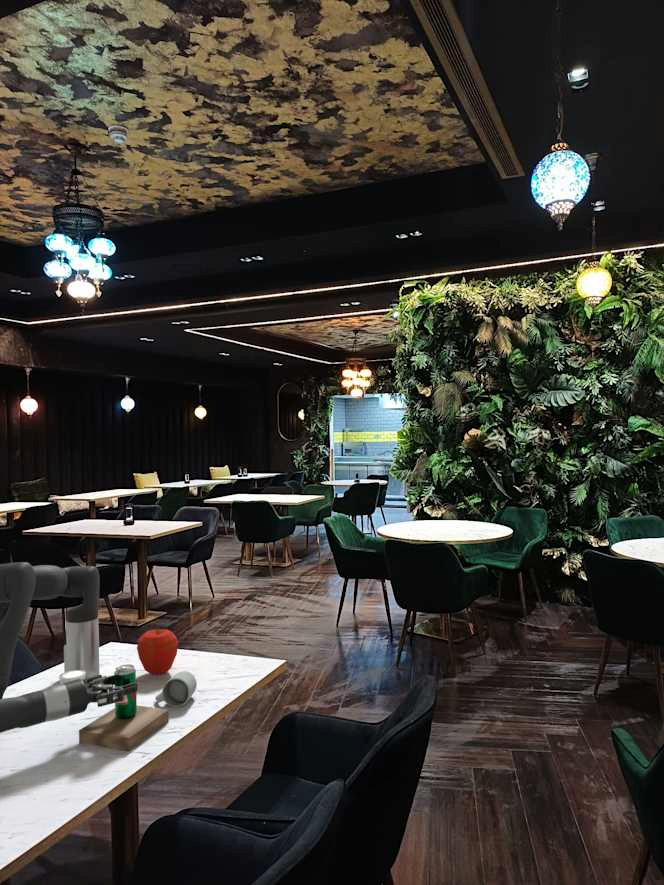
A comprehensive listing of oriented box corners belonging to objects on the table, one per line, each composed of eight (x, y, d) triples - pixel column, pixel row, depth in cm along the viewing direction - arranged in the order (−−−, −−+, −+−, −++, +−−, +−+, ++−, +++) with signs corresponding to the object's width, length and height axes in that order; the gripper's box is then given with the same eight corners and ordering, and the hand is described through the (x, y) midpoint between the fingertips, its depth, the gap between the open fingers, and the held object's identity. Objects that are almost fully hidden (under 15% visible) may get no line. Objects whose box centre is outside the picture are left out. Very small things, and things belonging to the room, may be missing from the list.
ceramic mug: (198, 695, 176) (197, 667, 176) (190, 707, 168) (188, 678, 168) (161, 695, 177) (160, 668, 177) (151, 708, 169) (149, 679, 169)
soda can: (110, 717, 155) (109, 669, 155) (126, 709, 160) (125, 662, 160) (125, 721, 153) (124, 672, 153) (141, 713, 158) (139, 665, 158)
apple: (129, 675, 193) (128, 629, 193) (163, 664, 202) (162, 620, 202) (153, 684, 185) (151, 636, 185) (186, 672, 194) (185, 626, 194)
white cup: (76, 704, 171) (76, 679, 171) (54, 703, 173) (53, 677, 173) (91, 694, 178) (90, 670, 178) (69, 693, 179) (69, 668, 179)
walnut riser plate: (79, 743, 149) (78, 730, 149) (122, 714, 164) (121, 703, 164) (129, 751, 144) (128, 738, 144) (168, 721, 160) (168, 709, 160)
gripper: (73, 693, 141) (141, 674, 152) (52, 676, 152) (117, 659, 162) (73, 726, 141) (142, 705, 152) (52, 707, 152) (118, 689, 162)
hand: (129, 682), depth 157 cm, fingers open, 8 cm apart
